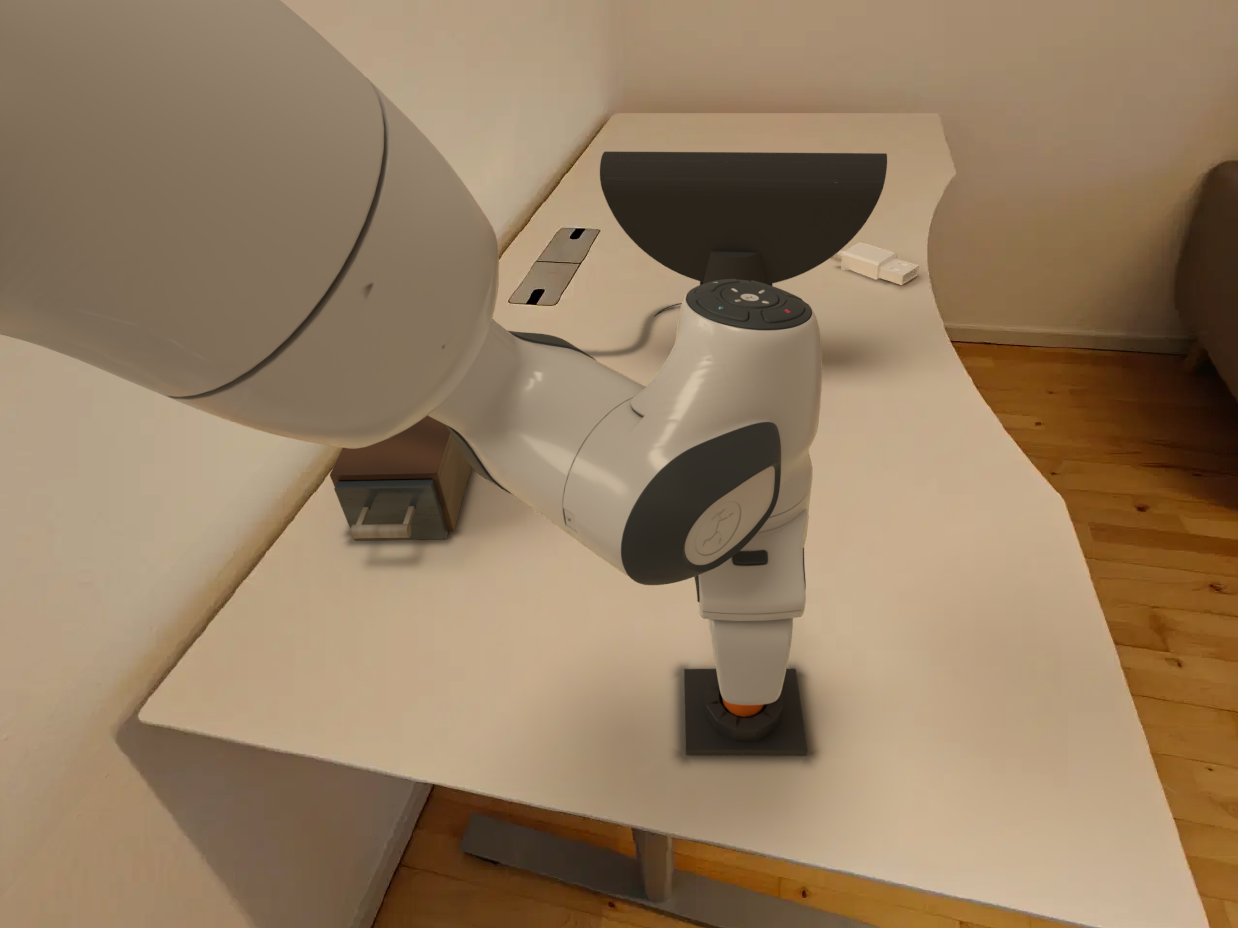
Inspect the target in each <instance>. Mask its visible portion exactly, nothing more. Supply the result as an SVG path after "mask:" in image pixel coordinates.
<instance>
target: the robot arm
mask: <svg viewBox="0 0 1238 928" xmlns="http://www.w3.org/2000/svg"><path fill="white" fill-rule="evenodd" d="M497 238H498V237H497V235H496V232H495V229H494V227H493V225H492V223H491V222H490V220H489V219H488V217H487V216H486V213H484V211H483V209H482V207H481V206H480V205H479V203H478V202H477V200H476V199H475V197H474V196H473V194H472V193H471V192H470V190H469V189H468V187H467V186H466V184H465V183H464V181H463V180H462V179H461V177H460V175H458V173H457V172H456V170H455V169H454V168H453V167H452V165H451V164H450V163H449V162H448V160H447V159H446V157H444V155H443V154H442V153H441V151H440V150H439V149H438V148H437V147H436V146H435V145H434V144H433V142H432V141H431V140H430V139H429V138H428V137H427V136H426V135H425V134H424V133H423V132H422V130H421V129H419V127H418V126H417V125H416V123H414V122H413V121H412V120H411V119H410V117H408V116H407V115H406V114H405V113H404V112H403V111H402V110H401V109H400V108H399V107H398V106H397V105H396V103H394V101H392V100H391V99H390V98H389V97H388V96H387V95H386V94H385V93H384V92H382V90H380V89H379V88H378V86H376V85H375V84H374V83H373V81H371V80H370V79H369V78H368V77H366V76H365V74H364V73H363V72H362V71H361V70H360V69H359V68H358V67H356V66H355V65H354V64H353V63H352V62H351V61H349V59H348V58H347V57H346V56H344V55H343V53H341V52H340V51H339V50H338V49H337V48H336V47H334V45H332V43H330V41H328V40H327V39H326V38H325V37H324V36H323V35H322V34H321V33H320V32H318V31H317V29H315V28H313V26H312V25H310V24H309V23H308V22H306V20H304V19H303V18H302V17H301V16H300V15H298V14H297V13H296V12H295V11H293V9H291V8H290V7H289V6H288V5H287V4H285V3H284V2H283V1H282V0H0V335H2V336H5V337H9V338H13V339H16V340H21V341H23V342H27V343H30V344H33V345H35V346H40V347H42V348H45V349H48V350H50V351H53V352H56V353H59V354H62V355H64V356H68V357H69V358H73V359H75V360H79V361H81V362H83V363H85V364H87V365H90V366H92V367H94V368H97V369H100V370H102V371H104V372H107V373H109V374H111V375H113V376H116V377H118V378H121V379H122V380H125V381H127V382H130V383H132V384H134V385H137V386H139V387H142V388H144V389H146V390H149V391H151V392H154V393H156V394H160V395H162V396H164V397H167V398H169V399H172V400H173V401H176V402H179V403H181V404H184V405H186V406H188V407H191V408H193V409H196V410H199V411H201V412H204V413H206V414H209V415H211V416H215V417H217V418H220V419H221V420H225V421H229V422H231V423H234V424H237V425H240V426H243V427H245V428H249V429H253V430H256V431H260V432H263V433H267V434H271V435H274V436H278V437H283V438H287V439H293V440H295V441H296V440H297V441H301V442H305V443H311V444H312V443H313V444H316V445H317V444H318V445H323V446H330V447H337V448H352V449H356V448H363V447H367V446H370V445H373V444H376V443H378V442H381V441H384V440H386V439H389V438H391V437H393V436H395V435H397V434H399V433H401V432H403V431H405V430H406V429H408V428H410V427H411V426H413V425H414V424H416V423H417V422H419V421H420V420H422V419H423V418H425V417H426V416H427V415H428V416H429V417H431V418H433V419H435V420H437V421H439V422H441V423H443V424H445V425H446V426H447V428H448V429H449V431H450V432H451V434H452V436H453V437H454V439H455V441H456V443H457V444H458V446H459V448H460V450H461V452H462V453H463V455H464V457H465V458H466V460H467V461H468V463H469V464H470V465H471V467H472V468H471V469H473V470H474V471H475V472H476V473H477V474H478V475H479V476H480V477H482V478H483V479H485V480H487V481H488V482H490V483H491V484H493V485H495V486H497V487H498V488H500V489H502V490H503V491H504V492H506V493H508V494H510V495H512V496H514V497H516V498H517V499H519V500H520V501H521V502H523V503H524V504H525V505H527V506H528V507H529V508H530V509H533V510H534V511H535V512H537V513H538V514H539V515H541V517H544V518H545V519H546V520H548V521H549V522H551V523H552V524H553V525H554V526H556V527H558V528H559V529H560V530H561V531H563V532H564V533H566V534H567V535H568V536H570V537H572V539H575V540H576V541H577V542H578V543H579V544H581V545H582V546H584V547H585V548H587V549H588V550H590V551H591V552H592V553H593V554H595V555H596V556H598V558H601V560H603V561H604V562H606V563H608V564H609V565H610V566H612V567H613V568H615V569H616V570H618V571H619V572H621V573H622V574H623V575H625V576H627V577H629V578H630V579H631V580H632V581H634V582H636V583H637V584H639V585H643V586H665V585H670V584H676V583H680V582H683V581H687V580H689V579H693V578H694V583H695V590H696V599H697V600H696V601H697V603H698V608H699V616H700V617H701V618H702V619H704V620H708V626H709V632H710V639H711V645H712V651H713V652H712V653H713V658H714V665H715V669H716V671H717V678H718V683H719V689H720V693H721V695H722V698H723V699H724V700H725V701H726V702H728V703H731V704H737V705H762V704H769V703H773V702H775V701H776V700H777V699H778V698H779V696H780V694H781V691H782V687H783V682H784V678H785V673H786V669H788V665H789V664H788V663H789V659H790V652H791V647H792V642H793V641H792V639H793V628H794V619H795V618H796V619H797V618H802V617H803V615H804V614H805V611H806V610H805V608H806V601H807V595H806V594H807V593H806V590H807V584H806V583H807V581H806V569H805V568H806V567H805V545H806V541H807V535H808V529H809V528H808V527H809V518H810V517H809V516H810V515H809V512H810V503H811V502H810V501H811V494H812V493H811V492H812V485H813V464H812V459H811V455H810V448H811V447H812V445H813V442H814V441H815V438H816V436H817V433H818V428H819V423H820V413H821V403H822V392H823V391H822V389H823V387H822V386H823V348H822V339H821V338H822V337H821V331H820V325H819V322H818V319H817V316H816V313H815V312H814V310H813V308H812V307H811V305H810V304H809V303H807V302H805V301H804V300H803V299H802V298H801V297H799V296H797V295H795V294H793V293H791V292H788V291H786V290H784V289H781V288H779V287H777V286H774V285H772V286H770V285H767V284H764V283H761V282H757V281H753V280H752V281H748V280H737V279H724V280H716V281H712V282H708V283H706V284H702V285H700V284H699V285H697V286H695V287H693V288H691V289H690V290H688V291H687V292H686V294H685V295H684V297H683V298H682V301H681V303H682V304H680V308H679V313H678V318H677V324H676V333H675V342H674V344H673V346H672V349H671V350H670V351H669V354H668V356H667V358H666V360H665V361H664V363H663V365H662V366H661V367H660V369H659V370H658V372H657V373H656V374H655V375H654V377H653V379H652V380H651V381H650V382H649V383H648V384H647V386H646V385H644V384H643V383H640V382H638V381H636V380H634V379H632V378H631V377H629V376H627V375H625V374H624V373H621V372H619V371H618V370H616V369H613V368H611V367H609V366H607V365H605V364H603V363H602V362H600V361H598V360H597V359H596V358H594V356H591V354H588V353H587V352H586V351H583V350H582V349H581V348H578V347H577V346H575V345H573V344H572V343H571V342H569V341H567V340H565V339H563V338H561V337H559V336H555V335H551V334H546V333H537V332H526V331H525V332H524V331H523V332H522V331H512V330H507V329H506V328H505V327H504V326H502V325H501V324H500V323H499V322H497V321H496V320H495V319H494V314H495V310H496V304H497V299H498V293H499V285H500V284H499V283H500V282H499V281H500V258H499V243H498V239H497Z"/></svg>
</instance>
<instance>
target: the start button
mask: <svg viewBox="0 0 1238 928" xmlns="http://www.w3.org/2000/svg"><path fill="white" fill-rule="evenodd" d="M722 700H723V704H724V706H725V707H726V709H727V710H728V711H729V712H731V713H732V714H734V715H736V716H739V717H751V716H754V715H756V714H757V713H759V712H760V711H761V710H762V708H763V706H764V704H762V705H737V704H731V703H728V702H726V701H725V700H724V699H723V698H722Z"/></svg>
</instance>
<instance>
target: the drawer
mask: <svg viewBox="0 0 1238 928" xmlns="http://www.w3.org/2000/svg"><path fill="white" fill-rule="evenodd" d="M334 492H335V494H336V497H337V500H338V503H339V504H340V507H341V510H342V512H343V514H344V517H345V519H346V522H347V525H348V527H349V534H350V537H351V539H353V540H354V541H400V540H401V541H402V540H403V541H405V540H410V541H411V540H447V539H448V535H449V532H448V528H447V524H446V521H445V518H444V514H443V511H442V507H441V504H440V500H439V497H438V493H437V490H436V487H435V483H434V480H432V478H425V479H377V480H351V481H338V482H337V484H336V486H335V487H334Z"/></svg>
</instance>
